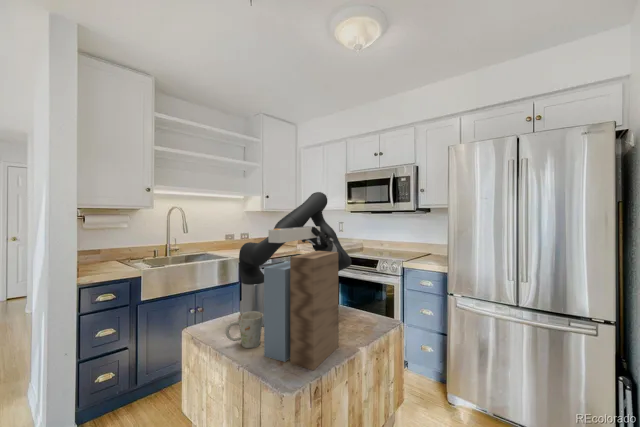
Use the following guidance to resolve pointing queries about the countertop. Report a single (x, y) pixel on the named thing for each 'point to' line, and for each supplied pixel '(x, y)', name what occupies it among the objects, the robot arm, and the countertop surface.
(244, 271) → the robot arm
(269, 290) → the blue stand
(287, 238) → the light grey square-ended block
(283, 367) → the countertop surface
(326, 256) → the walnut stand
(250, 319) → the mug
